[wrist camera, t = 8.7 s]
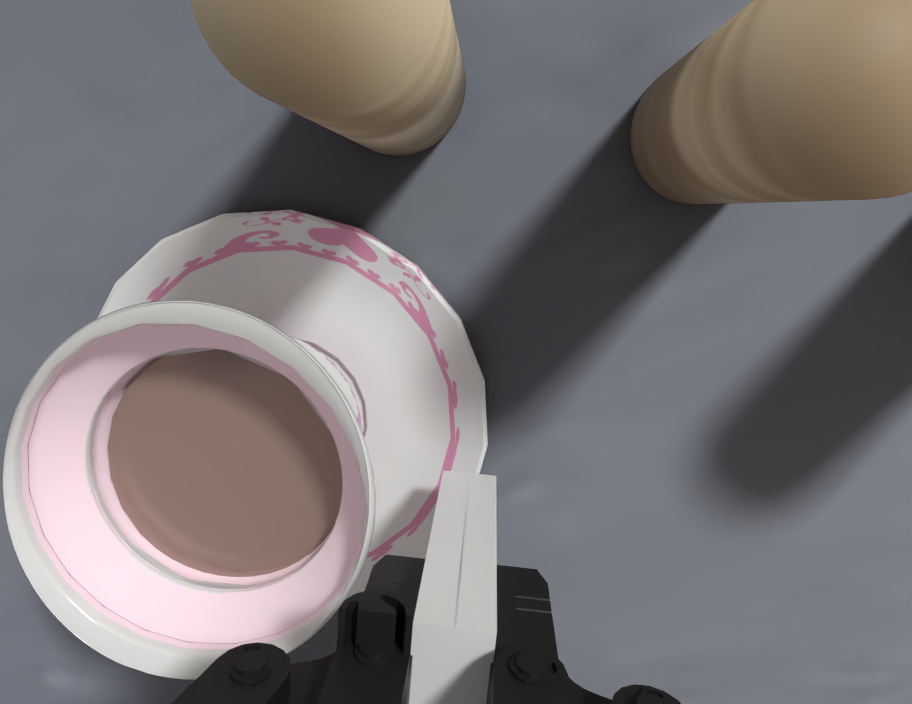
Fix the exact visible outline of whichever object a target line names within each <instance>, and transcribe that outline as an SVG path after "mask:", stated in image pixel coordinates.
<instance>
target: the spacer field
mask: <svg viewBox="0 0 912 704" xmlns="http://www.w3.org/2000/svg"><path fill="white" fill-rule="evenodd" d="M190 1H191V5H192V8H193V12H194V15H195V18H196V20H197V23H198V25H199V27H200V30H201V32H202V34H203V36H204V38H205V40H206V41H207V43H208V45H209V47H210V48H211V50H212V51H213V53H214V54H215V55H216V57H217V58H218V60H219V61H220V62H221V64H222V65H223V66H224V67H225V68H226V69H227V70H228V71H229V72H230V73H231V74H232V75H233V76H234V77H235V78H236V79H237V80H239V81H240V82H241V83H242V84H243V85H245V86H246V87H247V88H249V89H251V90H252V91H254V92H255V93H257V94H258V95H260V96H262V97H264V98H266V99H268V100H270V101H272V102H274V103H276V104H278V105H280V106H282V107H284V108H287V109H289V110H291V111H293V112H295V113H297V114H299V115H301V116H303V117H305V118H307V119H309V120H311V121H313V122H315V123H317V124H319V125H321V126H323V127H325V128H327V129H330V130H332V131H334V132H336V133H338V134H340V135H342V136H344V137H346V138H348V139H350V140H352V141H354V142H356V143H358V144H360V145H362V146H364V147H366V148H368V149H371V150H373V151H375V152H378V153H381V154H385V155H391V156H404V155H411V154H415V153H419V152H421V151H424V150H426V149H428V148H430V147H431V146H433V145H435V144H436V143H437V142H438V141H440V140H441V139H442V138H443V137H444V136H445V135H446V134H447V133H448V132H449V130H450V129H451V128H452V126H453V125H454V123H455V121H456V120H457V118H458V116H459V113H460V111H461V108H462V105H463V101H464V96H465V83H466V80H465V71H464V66H463V61H462V57H461V52H460V47H459V43H458V38H457V33H456V29H455V24H454V19H453V15H452V10H451V5H450V1H449V0H190ZM630 146H631V152H632V156H633V160H634V163H635V165H636V167H637V170H638V172H639V173H640V175H641V176H642V178H643V179H644V180H645V182H646V183H647V184H648V185H649V186H650V187H651V188H652V189H653V190H654V191H656V192H657V193H659V194H660V195H662V196H663V197H666V198H668V199H670V200H673V201H676V202H679V203H685V204H726V203H761V202H796V201H831V200H866V199H880V198H889V197H893V196H898V195H902V194H906V193H909V192H912V0H753V1H752V2H751V3H750V4H748V5H747V6H746V7H745V8H744V9H742V10H741V11H740V12H739V13H737V14H736V15H735V16H734V17H732V18H731V19H730V20H729V21H727V22H726V23H725V24H724V25H723V26H721V27H720V28H719V29H718V30H716V31H715V32H714V33H713V34H711V35H710V36H709V37H708V38H706V39H705V40H704V41H703V42H702V43H700V44H699V45H698V46H697V47H695V48H694V49H693V50H692V51H690V52H689V53H688V54H687V55H685V56H684V57H683V58H682V59H681V60H679V61H678V62H677V63H676V64H674V65H673V66H672V67H671V68H669V69H668V70H667V71H666V72H664V73H663V74H662V75H661V76H659V77H658V78H657V79H656V80H655V81H654V82H653V83H652V84H651V85H650V87H649V88H648V89H647V90H646V91H645V93H644V95H643V96H642V98H641V99H640V101H639V103H638V105H637V107H636V110H635V113H634V116H633V119H632V124H631V131H630Z"/></svg>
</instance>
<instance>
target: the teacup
mask: <svg viewBox="0 0 912 704" xmlns="http://www.w3.org/2000/svg"><path fill="white" fill-rule="evenodd" d="M487 446H488V436H487V415H486V395H485V379H484V376H483V374H482V371H481V368H480V366H479V363H478V361H477V358H476V356H475V353H474V350H473V348H472V345H471V343H470V340H469V338H468V335H467V332H466V330H465V327H464V325H463V322H462V320H461V318H460V316H459V315H458V314H457V313H456V312H455V310H454V309H453V308H452V307H451V305H450V304H449V303H448V302H447V301H446V299H445V298H444V297H443V296H442V294H441V293H440V292H439V291H438V290H437V288H436V287H435V286H434V285H433V283H432V282H431V281H430V280H429V279H428V277H427V276H426V275H425V274H424V272H423V271H422V270H421V269H420V268H419V266H418V265H416V264H415V263H413V262H412V261H410V260H409V259H407V258H405V257H404V256H402V255H401V254H399V253H398V252H396V251H395V250H393V249H392V248H390V247H389V246H387V245H385V244H384V243H382V242H381V241H379V240H378V239H376V238H375V237H373V236H372V235H370V234H369V233H367V232H365V231H364V230H362V229H361V228H359V227H355V226H351V225H348V224H344V223H340V222H336V221H333V220H329V219H325V218H322V217H318V216H314V215H311V214H307V213H303V212H299V211H296V210H279V211H262V212H245V213H228V214H221V215H218V216H216V217H214V218H211V219H209V220H206V221H204V222H202V223H199V224H197V225H195V226H192V227H190V228H187V229H185V230H183V231H180V232H178V233H176V234H173V235H171V236H168V237H166V238H164V239H162V240H161V241H160V242H158V243H157V244H156V245H155V246H154V247H153V248H152V249H151V250H150V251H149V252H148V253H147V254H146V255H144V256H143V257H142V258H141V259H140V260H139V261H138V262H137V263H136V264H135V265H134V266H133V267H132V268H130V269H129V270H128V271H127V272H126V273H125V274H124V275H123V276H122V277H121V278H120V279H119V280H118V281H117V282H116V283H115V285H114V287H113V289H112V291H111V293H110V295H109V297H108V299H107V301H106V303H105V304H104V306H103V308H102V310H101V312H100V314H99V316H98V318H97V319H96V320H94V321H92V322H90V323H88V324H87V325H85V326H84V327H82V328H80V329H79V330H77V331H76V332H75V333H73V334H72V335H71V336H69V337H68V338H67V339H66V340H65V341H63V342H62V343H61V344H60V345H59V346H58V347H57V348H56V349H55V350H54V351H53V352H52V353H51V354H50V355H49V356H48V357H47V358H46V359H45V361H44V362H43V363H42V364H41V365H40V367H39V368H38V369H37V371H36V372H35V374H34V375H33V376H32V378H31V379H30V381H29V383H28V384H27V386H26V388H25V389H24V391H23V393H22V395H21V397H20V399H19V401H18V403H17V406H16V408H15V411H14V413H13V416H12V419H11V422H10V425H9V429H8V433H7V437H6V442H5V448H4V455H3V466H2V487H3V499H4V507H5V513H6V519H7V524H8V528H9V532H10V536H11V540H12V543H13V546H14V549H15V552H16V554H17V557H18V559H19V562H20V564H21V566H22V568H23V570H24V572H25V574H26V576H27V578H28V580H29V581H30V583H31V585H32V586H33V588H34V590H35V591H36V593H37V594H38V596H39V597H40V598H41V600H42V601H43V602H44V604H45V605H46V606H47V608H48V609H49V610H50V611H51V612H52V613H53V615H54V616H55V617H56V618H57V619H58V620H59V621H60V622H61V623H62V624H63V625H64V626H65V627H66V628H67V629H68V630H69V631H70V632H72V633H73V634H74V635H75V636H76V637H78V638H79V639H80V640H81V641H83V642H84V643H85V644H87V645H88V646H90V647H91V648H92V649H94V650H96V651H97V652H99V653H100V654H102V655H104V656H106V657H107V658H109V659H111V660H113V661H115V662H117V663H120V664H122V665H124V666H127V667H130V668H133V669H136V670H139V671H142V672H145V673H148V674H152V675H156V676H161V677H168V678H175V679H197V678H198V677H199V676H200V675H201V674H202V673H203V672H204V671H205V670H206V669H207V668H208V667H209V666H210V665H211V664H212V663H213V662H214V661H215V660H216V659H217V658H218V657H220V656H221V655H222V654H224V653H225V652H227V651H228V650H229V649H232V648H235V647H237V646H240V645H243V644H249V643H257V642H260V643H267V644H273V645H275V646H277V647H279V648H281V649H283V650H284V651H285V653H286V654H288V653H290V652H292V651H293V650H295V649H296V648H298V647H299V646H301V645H302V644H303V643H305V642H306V641H307V640H308V639H310V638H311V637H312V636H313V635H314V634H316V633H317V632H318V631H319V630H320V629H321V628H322V627H323V626H324V625H325V624H326V623H327V622H328V621H329V620H330V619H331V617H332V616H333V615H334V614H335V613H336V611H337V610H338V609H339V607H340V606H341V605H342V603H343V602H344V600H345V599H347V598H349V597H350V596H352V595H354V594H356V593H360V592H364V591H365V588H366V585H367V583H368V579H369V576H370V573H371V570H372V568H373V565H375V564H376V563H377V562H378V561H379V560H380V559H381V558H383V557H384V556H385V555H386V554H387V555H396V556H405V557H414V558H423V559H426V554H427V549H428V544H429V539H430V534H431V529H432V524H433V519H434V514H435V509H436V504H437V499H438V494H439V489H440V484H441V479H442V474H443V470H444V471H454V472H463V473H473V474H479V473H480V470H481V466H482V463H483V459H484V456H485V453H486V449H487Z"/></svg>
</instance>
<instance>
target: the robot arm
mask: <svg viewBox="0 0 912 704" xmlns="http://www.w3.org/2000/svg"><path fill="white" fill-rule="evenodd" d="M172 704H681V703H680V702H679V701H678V700H677V699H675V698H674V697H672V696H671V695H669V694H667V693H666V692H664V691H662V690H659V689H656V688H653V687H651V686H645V685H630V686H626V687H622V688H621V689H620V690H618V691H617V692H616V693H615V694H614V696H613V700H611V699H608V698H605V697H603V696H600V695H597V694H594V693H592V692H590V691H588V690H586V689H583V688H582V687H580V686H579V685H577V684H576V683H574V682H573V681H572V680H571V679H570V678H569V677H568V674H567V672H566V669H565V667H564V665H563V663H562V662H561V661H560V660H559V659H558V654H557V647H556V640H555V633H554V625H553V618H552V614H551V604H550V597H549V590H548V583H547V582H546V581H545V579H544V578H543V577H542V576H541V574H540V573H539V572H538V570H537V569H528V568H519V567H510V566H501V565H497V531H496V476H492V475H482V474H473V473H463V472H454V471H444V470H443V474H442V479H441V484H440V489H439V494H438V499H437V504H436V509H435V514H434V519H433V524H432V529H431V534H430V539H429V544H428V549H427V554H426V559H423V558H414V557H405V556H396V555H387V554H386V555H385V556H384V557H383V558H381V559H380V560H379V561H378V562H377V563H376V564H375V565H373V568H372V570H371V573H370V576H369V579H368V583H367V585H366V588H365V591H364V592H360V593H356V594H354V595H352V596H350V597H349V598H347V599H345V601H344V602H343V603H342V605H341V606H340V607H339V620H338V640H337V650H336V652H335V653H333V654H331V655H330V656H327V657H325V658H322V659H319V660H315V661H310V662H303V663H295V664H290V658H289V657H288V655H287V654H286V653H285V651H284V650H283V649H281V648H279V647H277V646H275V645H273V644H267V643H260V642H257V643H249V644H243V645H240V646H237V647H235V648H232V649H229V650H228V651H227V652H225V653H224V654H222V655H221V656H220V657H218V658H217V659H216V660H215V661H214V662H213V663H212V664H211V665H210V666H209V667H208V668H207V669H206V670H205V671H204V672H203V673H202V674H201V675H200V676H199V677H198V678H197V679H196V680H195V681H194V682H193V683H192V684H191V685H190V686H189V687H188V688H187V689H186V690H185V691H184V692H183V693H182V694H181V695H180V696H179V697H178V698H177V699H176V700H175V701H174V702H173V703H172Z"/></svg>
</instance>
